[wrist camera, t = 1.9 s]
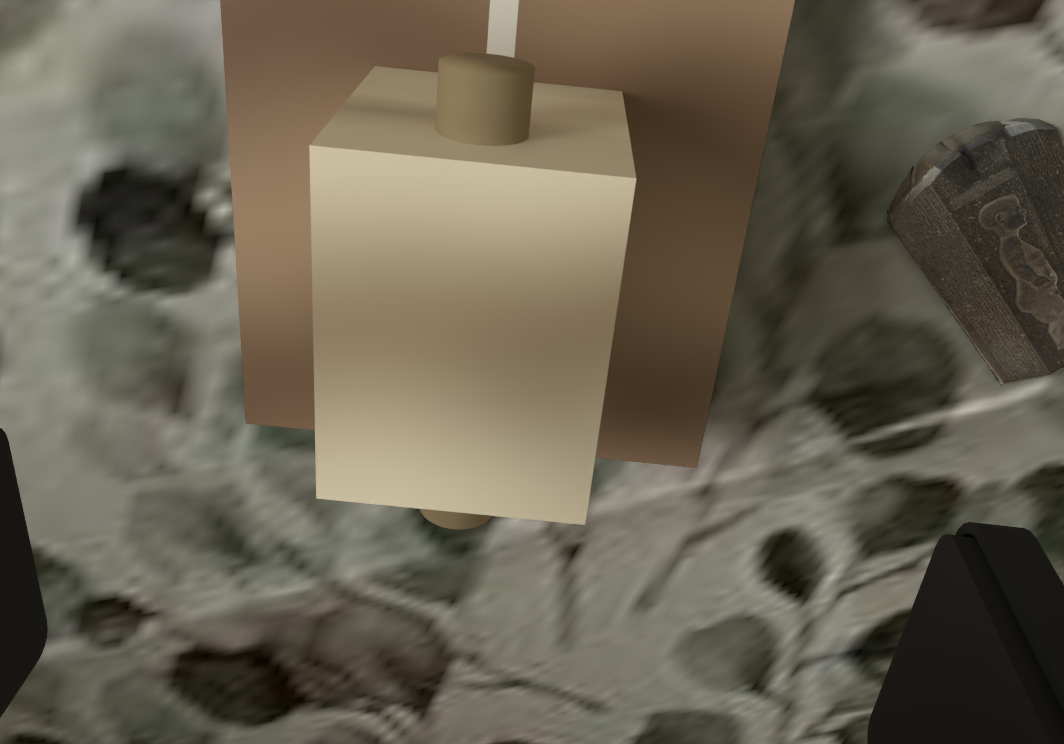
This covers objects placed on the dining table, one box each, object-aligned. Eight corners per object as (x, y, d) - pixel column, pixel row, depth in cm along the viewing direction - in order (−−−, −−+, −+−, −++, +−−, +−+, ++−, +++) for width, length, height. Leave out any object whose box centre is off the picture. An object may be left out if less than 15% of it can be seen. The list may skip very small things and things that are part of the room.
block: (979, 357, 24) (1000, 404, 22) (857, 173, 21) (871, 212, 20) (1135, 283, 22) (1168, 328, 21) (1022, 75, 20) (1051, 109, 18)
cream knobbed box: (578, 417, 21) (577, 571, 17) (371, 397, 21) (317, 545, 17) (630, 34, 17) (646, 105, 13) (375, 7, 17) (307, 70, 13)
